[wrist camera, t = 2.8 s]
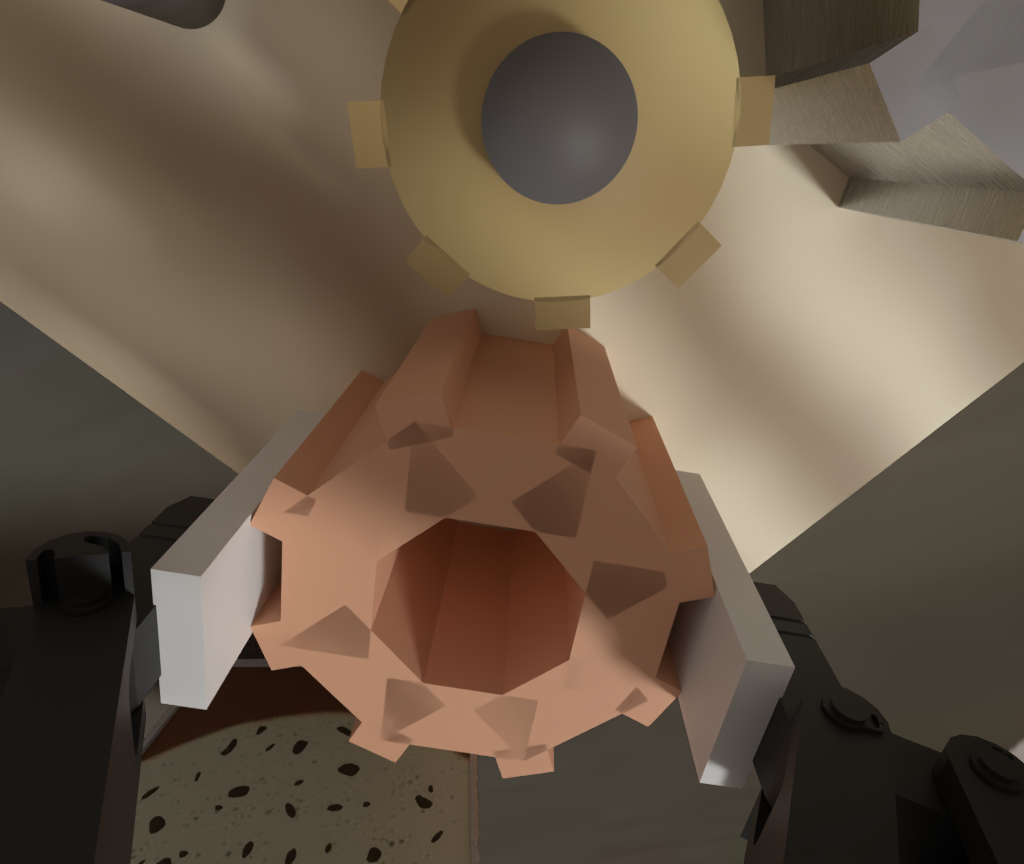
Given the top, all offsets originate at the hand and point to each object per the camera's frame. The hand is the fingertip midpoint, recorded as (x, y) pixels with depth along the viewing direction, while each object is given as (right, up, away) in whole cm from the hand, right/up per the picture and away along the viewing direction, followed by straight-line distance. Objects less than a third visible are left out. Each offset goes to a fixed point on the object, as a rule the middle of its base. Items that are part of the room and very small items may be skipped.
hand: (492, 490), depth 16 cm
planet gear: (0, +1, +1) cm, 1 cm away
